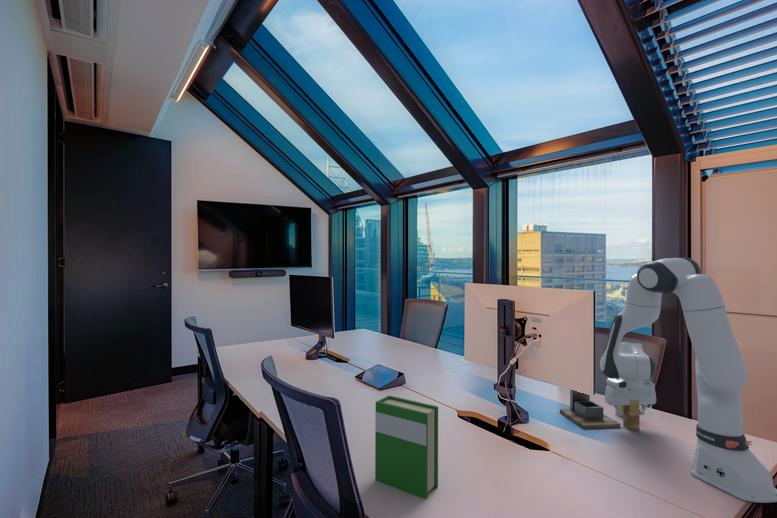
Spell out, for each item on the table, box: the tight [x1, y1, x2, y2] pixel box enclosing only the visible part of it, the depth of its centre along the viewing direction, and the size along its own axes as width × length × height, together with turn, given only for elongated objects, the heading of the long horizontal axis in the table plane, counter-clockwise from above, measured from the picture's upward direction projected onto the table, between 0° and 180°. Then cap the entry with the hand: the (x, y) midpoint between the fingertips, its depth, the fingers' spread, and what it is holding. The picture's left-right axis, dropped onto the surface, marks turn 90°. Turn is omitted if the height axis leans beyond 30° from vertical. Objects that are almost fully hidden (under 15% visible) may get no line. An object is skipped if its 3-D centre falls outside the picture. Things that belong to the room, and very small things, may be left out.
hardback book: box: [374, 395, 439, 500], centre depth 121 cm, size 18×7×24 cm, turn 56°
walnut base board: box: [559, 408, 621, 430], centre depth 172 cm, size 18×16×2 cm
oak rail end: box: [622, 400, 640, 431], centre depth 163 cm, size 4×4×12 cm
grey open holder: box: [569, 389, 604, 420], centre depth 173 cm, size 12×8×14 cm
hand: (630, 415), depth 163 cm, fingers open, 8 cm apart
